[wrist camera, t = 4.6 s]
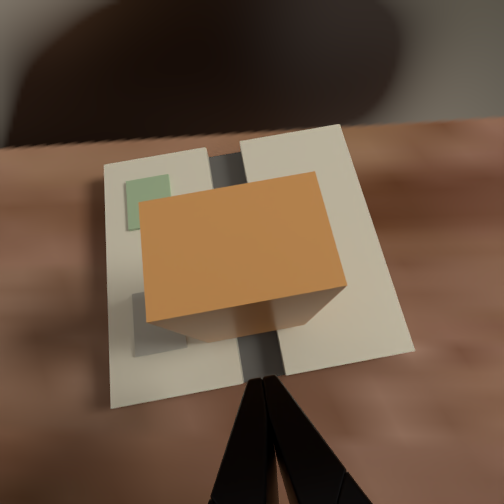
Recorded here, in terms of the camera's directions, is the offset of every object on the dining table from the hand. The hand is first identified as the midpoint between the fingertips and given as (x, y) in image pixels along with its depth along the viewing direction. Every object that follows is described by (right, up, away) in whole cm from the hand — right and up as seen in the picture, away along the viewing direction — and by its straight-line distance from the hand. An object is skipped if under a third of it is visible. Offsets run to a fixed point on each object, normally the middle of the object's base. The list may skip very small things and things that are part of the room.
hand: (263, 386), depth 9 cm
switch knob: (0, +1, +7) cm, 7 cm away
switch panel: (-1, +4, +8) cm, 9 cm away
